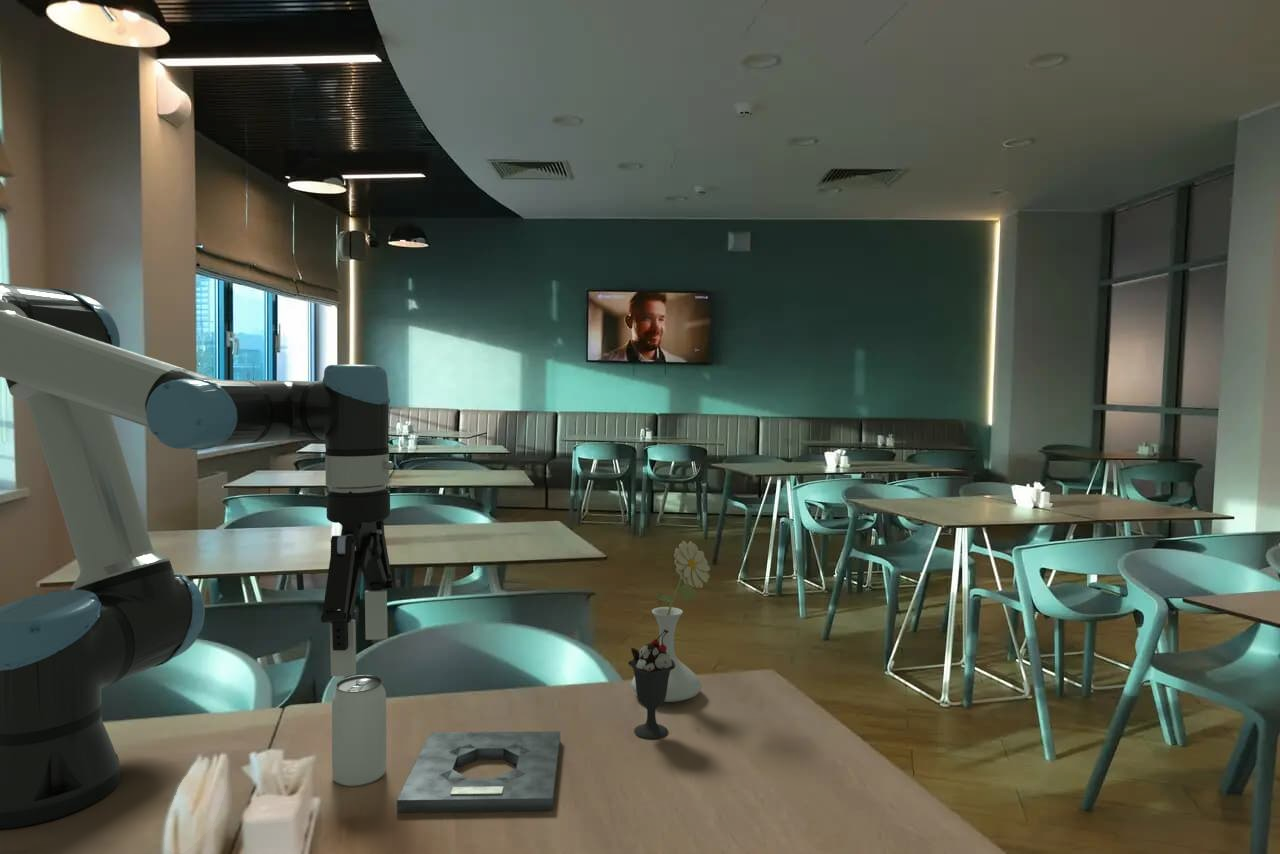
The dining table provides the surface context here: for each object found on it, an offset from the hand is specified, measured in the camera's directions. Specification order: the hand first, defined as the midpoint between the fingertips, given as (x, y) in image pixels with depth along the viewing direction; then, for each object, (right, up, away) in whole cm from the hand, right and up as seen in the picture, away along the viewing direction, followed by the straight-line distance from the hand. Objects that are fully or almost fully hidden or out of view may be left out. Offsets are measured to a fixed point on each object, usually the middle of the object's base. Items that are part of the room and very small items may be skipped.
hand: (361, 656), depth 99 cm
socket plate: (+16, -16, +2) cm, 22 cm away
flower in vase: (+40, -15, +29) cm, 52 cm away
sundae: (+37, -16, +15) cm, 43 cm away
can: (0, -16, +1) cm, 16 cm away
